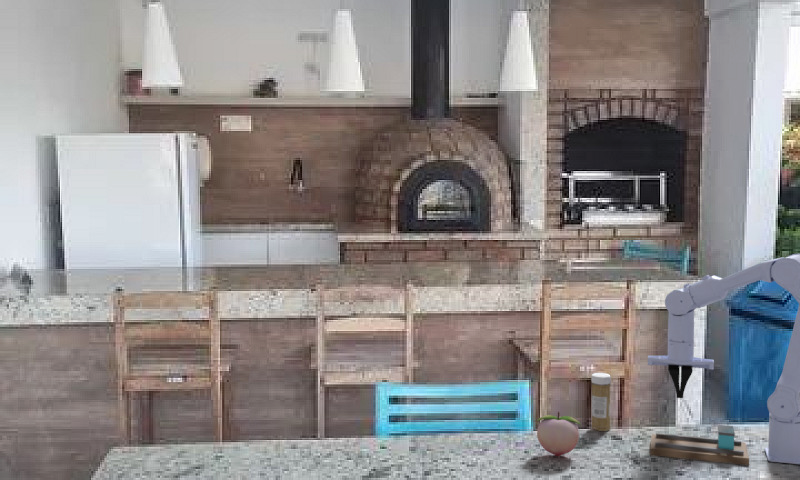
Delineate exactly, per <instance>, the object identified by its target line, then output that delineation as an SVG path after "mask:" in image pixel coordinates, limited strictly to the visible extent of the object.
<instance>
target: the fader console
mask: <svg viewBox="0 0 800 480" xmlns="http://www.w3.org/2000/svg"><path fill="white" fill-rule="evenodd" d="M649 453H650V454H649V455H650V456H657V457H663V458H665V457H666V458H675V459H684V460H686V459H687V460H694V461H695V460H697V461H706V462H715V463H724V464H736V465H743V466H744V465H745V466H750V457H749V453H748V448H747V444H746V442H742V440H737V439H734V450H732V449H722V448H718V438H713V437H703V436H694V435H693V436H691V435H684V434H683V435H682V434H681V435H680V434H672V433H670V434H669V433H659V432H655V433H651V439H650V451H649Z"/></svg>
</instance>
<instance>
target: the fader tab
mask: <svg viewBox="0 0 800 480" xmlns="http://www.w3.org/2000/svg"><path fill="white" fill-rule="evenodd" d="M735 436H736V433H735V428H734V426H733V425H724V424H717V439H718V448H722V449H732V450H734V440H735Z"/></svg>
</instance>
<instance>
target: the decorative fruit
mask: <svg viewBox="0 0 800 480" xmlns="http://www.w3.org/2000/svg"><path fill="white" fill-rule="evenodd" d="M538 421H540V422H539V424H538V425H537V426H538V427H537V431H536V436H537V440H538V442H539V444H540V446H541V447H542V448H543V449H544V450H545V451H546V452H548V453H549V454H552V455H555V456H557V457H560V456H562V455H566V454H569V453H570V452H571V451H573V450H574V449H575V448H576V446H577V444H578V443H579V438H580V432H579V427H578V425H581V423H580V421H579V420H578V419H576V418H574V417H572V416H569V415H563V416H560V412H559V411H557V416H556V415H551V414H547V415H543V416H540V417H539V418H538V419H536V422H538ZM577 424H578V425H577Z"/></svg>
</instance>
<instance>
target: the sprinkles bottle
mask: <svg viewBox="0 0 800 480" xmlns="http://www.w3.org/2000/svg"><path fill="white" fill-rule="evenodd" d="M590 379H591V429H593V430H594V429H595V430H594V431H597V432H606V431H609V430H610V429H611V383H612V377H611V375H610V374H609V373H606V372H594V373H592V374H591V378H590Z"/></svg>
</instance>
